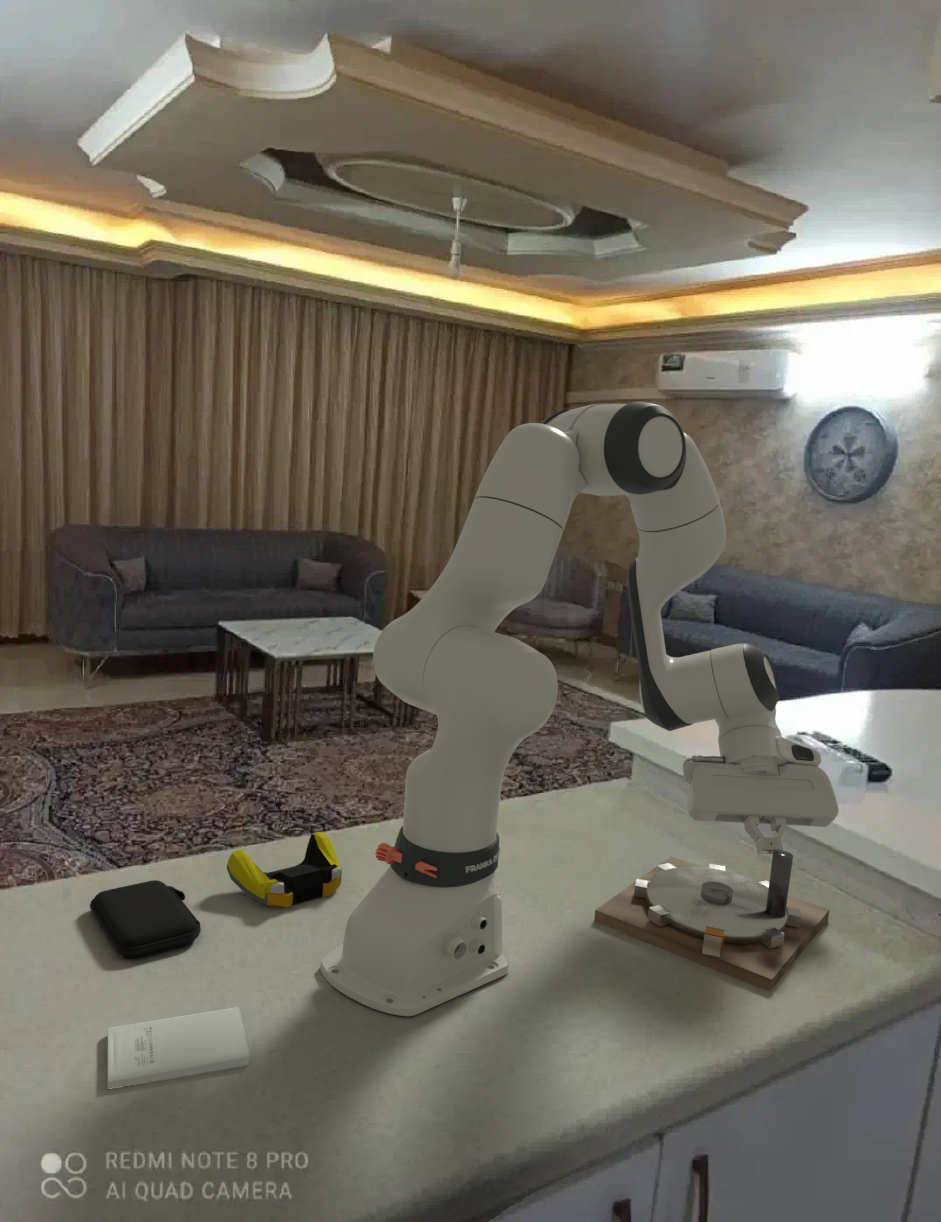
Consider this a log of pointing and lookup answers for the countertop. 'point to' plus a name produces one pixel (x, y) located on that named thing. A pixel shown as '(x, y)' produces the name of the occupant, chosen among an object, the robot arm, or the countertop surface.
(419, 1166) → the countertop surface
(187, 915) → the carrying case or bag
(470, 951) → the robot arm
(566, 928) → the countertop surface
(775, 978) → the sprocket base
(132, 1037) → the external hard drive
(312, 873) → the gaming controller
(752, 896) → the sprocket
